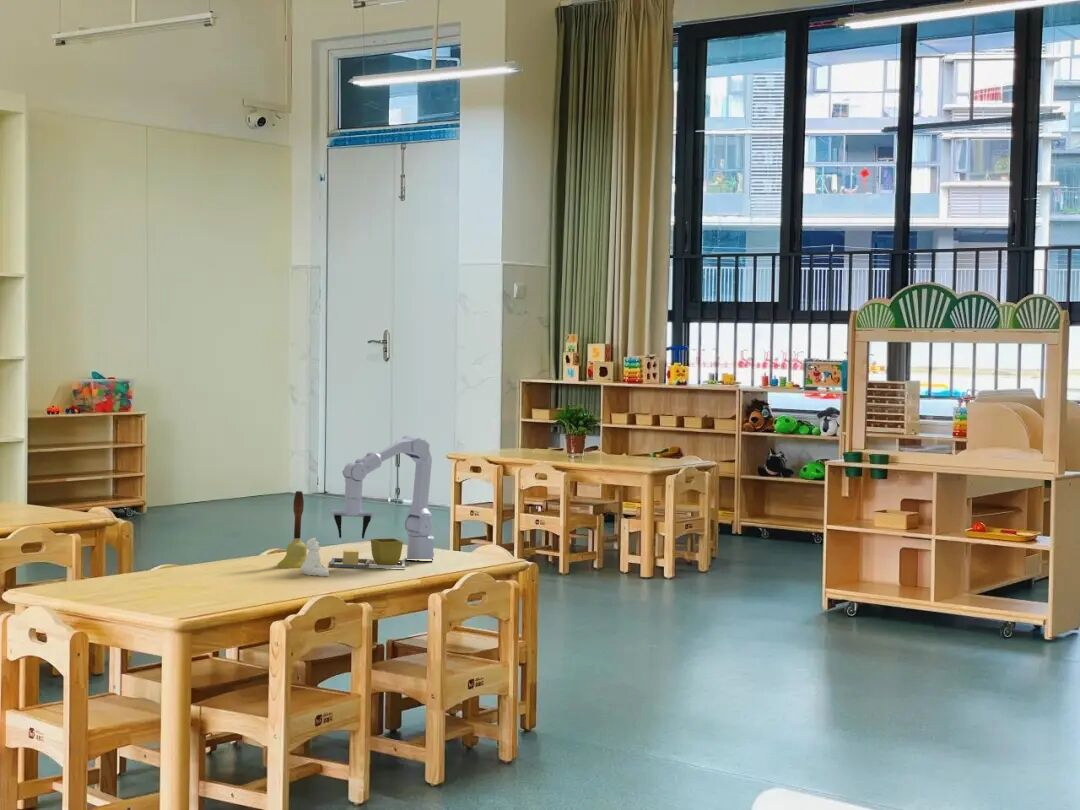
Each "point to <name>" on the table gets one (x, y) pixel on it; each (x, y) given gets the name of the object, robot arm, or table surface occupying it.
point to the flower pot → (386, 551)
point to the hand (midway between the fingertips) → (351, 537)
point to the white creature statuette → (313, 560)
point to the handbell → (296, 538)
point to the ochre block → (350, 556)
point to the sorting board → (364, 565)
